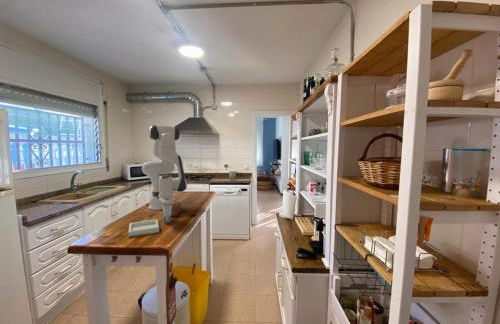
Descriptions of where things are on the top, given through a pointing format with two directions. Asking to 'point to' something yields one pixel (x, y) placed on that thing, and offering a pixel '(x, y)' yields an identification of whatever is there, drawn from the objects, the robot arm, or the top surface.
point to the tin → (176, 208)
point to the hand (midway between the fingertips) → (166, 219)
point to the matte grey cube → (165, 219)
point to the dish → (143, 228)
